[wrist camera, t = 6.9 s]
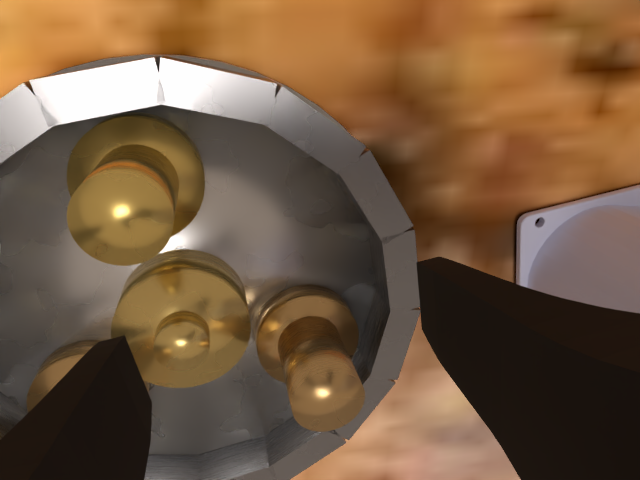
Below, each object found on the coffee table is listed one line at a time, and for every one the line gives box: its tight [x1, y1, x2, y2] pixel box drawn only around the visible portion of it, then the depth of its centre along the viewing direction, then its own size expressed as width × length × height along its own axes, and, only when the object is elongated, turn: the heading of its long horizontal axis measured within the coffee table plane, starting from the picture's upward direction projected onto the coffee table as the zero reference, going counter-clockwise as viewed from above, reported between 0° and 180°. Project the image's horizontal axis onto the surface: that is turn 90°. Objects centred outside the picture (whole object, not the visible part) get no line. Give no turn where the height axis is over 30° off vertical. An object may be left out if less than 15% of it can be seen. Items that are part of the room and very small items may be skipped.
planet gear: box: [67, 112, 205, 266], centre depth 16 cm, size 5×5×5 cm
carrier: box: [0, 54, 420, 480], centre depth 18 cm, size 20×20×6 cm
